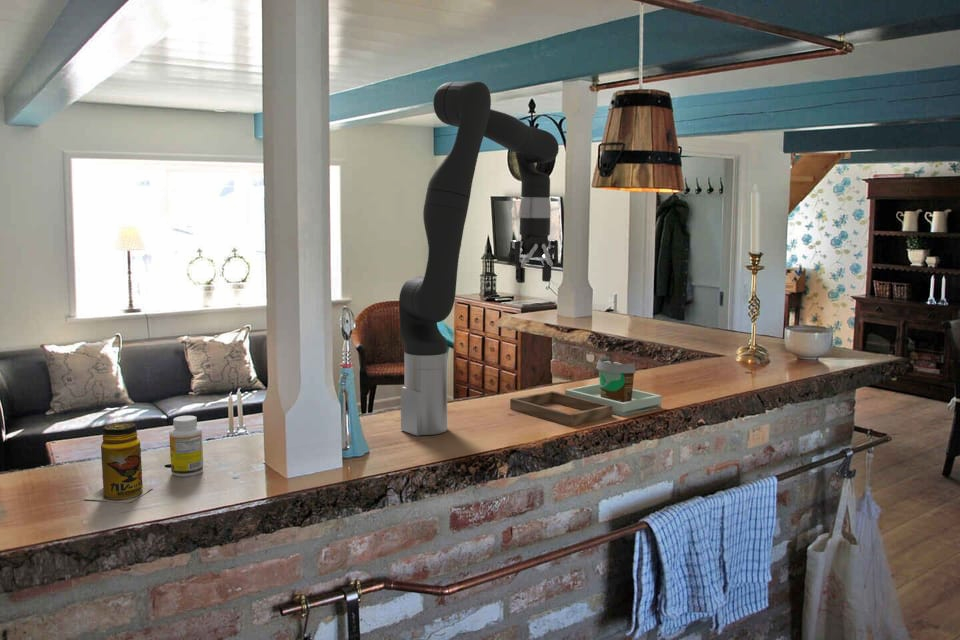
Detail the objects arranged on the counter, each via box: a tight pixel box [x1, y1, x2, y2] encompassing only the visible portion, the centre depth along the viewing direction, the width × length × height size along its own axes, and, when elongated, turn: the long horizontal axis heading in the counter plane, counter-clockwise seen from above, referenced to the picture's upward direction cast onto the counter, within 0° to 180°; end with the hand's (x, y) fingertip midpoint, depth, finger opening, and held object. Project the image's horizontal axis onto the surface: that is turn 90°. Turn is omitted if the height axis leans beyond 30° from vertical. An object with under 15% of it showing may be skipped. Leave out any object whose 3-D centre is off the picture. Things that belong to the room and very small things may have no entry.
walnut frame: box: [509, 390, 613, 427], centre depth 196 cm, size 14×20×2 cm
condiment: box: [83, 421, 155, 504], centre depth 139 cm, size 7×8×12 cm
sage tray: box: [564, 382, 662, 417], centre depth 205 cm, size 14×19×3 cm
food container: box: [595, 356, 637, 402], centre depth 204 cm, size 12×6×10 cm, turn 23°
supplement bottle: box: [169, 415, 204, 478], centre depth 150 cm, size 6×6×10 cm
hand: (533, 282), depth 206 cm, fingers open, 8 cm apart
